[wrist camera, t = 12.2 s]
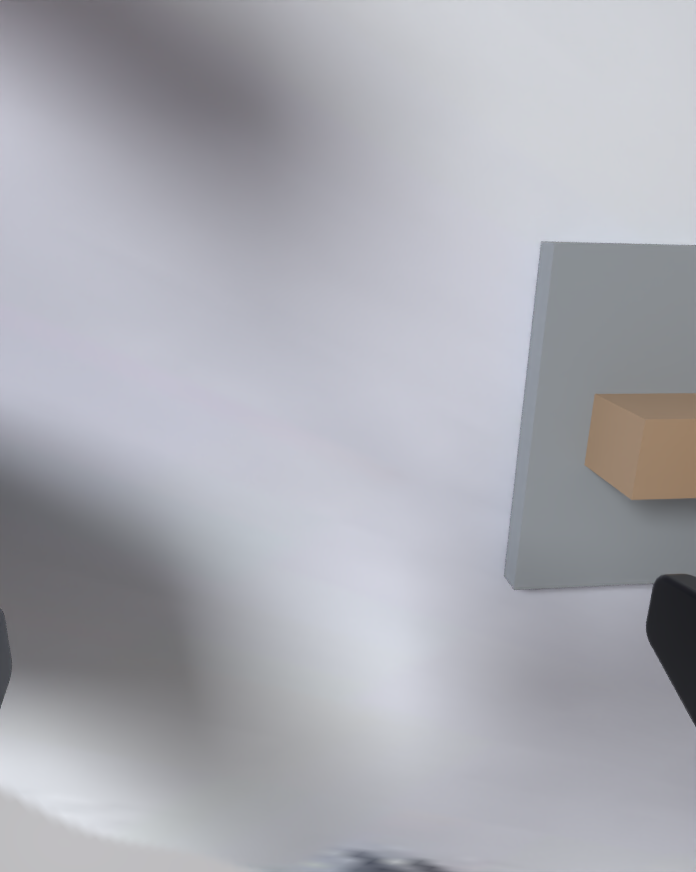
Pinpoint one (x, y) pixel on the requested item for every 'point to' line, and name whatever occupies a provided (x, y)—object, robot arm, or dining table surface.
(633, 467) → the ridge stand
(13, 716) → the dining table surface
